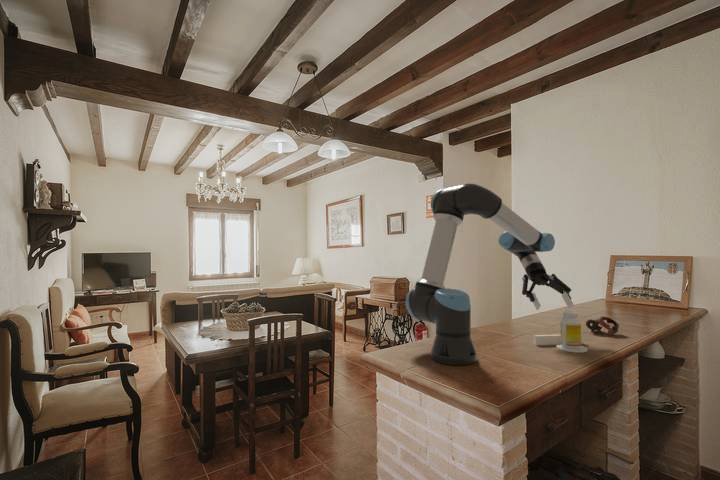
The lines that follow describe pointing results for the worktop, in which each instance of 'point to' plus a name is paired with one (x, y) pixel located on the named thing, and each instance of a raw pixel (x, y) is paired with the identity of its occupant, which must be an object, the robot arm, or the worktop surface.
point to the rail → (549, 339)
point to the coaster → (581, 350)
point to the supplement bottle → (570, 330)
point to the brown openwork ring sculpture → (602, 323)
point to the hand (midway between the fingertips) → (555, 307)
